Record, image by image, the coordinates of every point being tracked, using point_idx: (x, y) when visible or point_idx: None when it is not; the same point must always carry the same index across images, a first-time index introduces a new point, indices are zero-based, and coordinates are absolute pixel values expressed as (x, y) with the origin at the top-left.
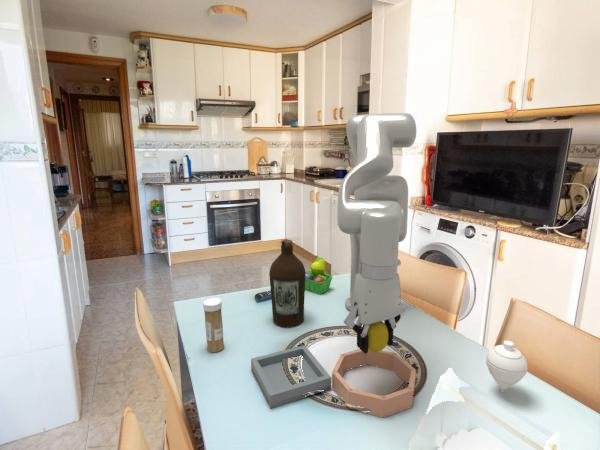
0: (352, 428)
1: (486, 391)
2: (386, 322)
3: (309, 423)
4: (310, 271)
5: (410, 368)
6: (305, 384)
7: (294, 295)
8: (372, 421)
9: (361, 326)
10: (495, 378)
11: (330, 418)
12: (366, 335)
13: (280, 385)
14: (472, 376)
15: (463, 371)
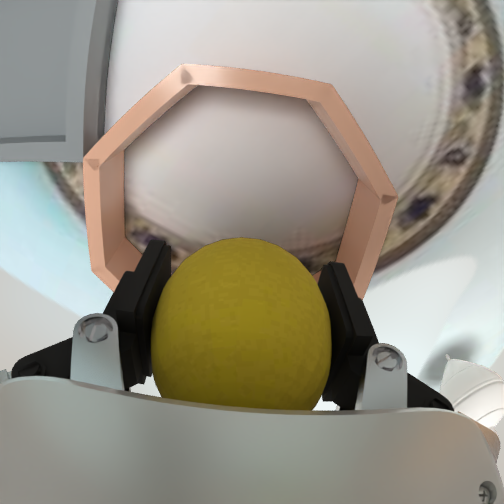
0: (95, 290)
1: (435, 344)
2: (355, 384)
3: (19, 232)
4: None
5: (355, 289)
6: (7, 157)
7: None
8: None
9: (121, 363)
10: (442, 386)
11: (61, 244)
12: (141, 373)
13: None
14: (466, 306)
15: (473, 286)
